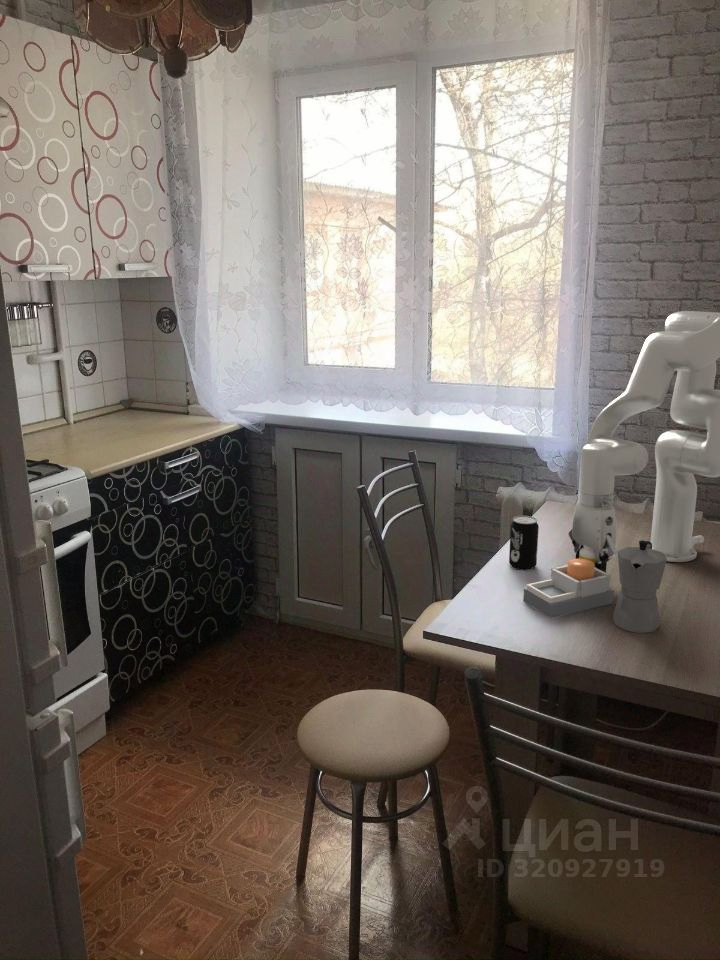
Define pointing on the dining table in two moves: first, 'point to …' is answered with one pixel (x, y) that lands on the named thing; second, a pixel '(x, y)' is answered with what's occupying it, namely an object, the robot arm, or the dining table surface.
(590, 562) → the orange rounded capsule
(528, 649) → the dining table surface
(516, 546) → the beverage can
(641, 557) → the coffeepot
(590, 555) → the supplement bottle
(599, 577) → the grey divided storage tray
